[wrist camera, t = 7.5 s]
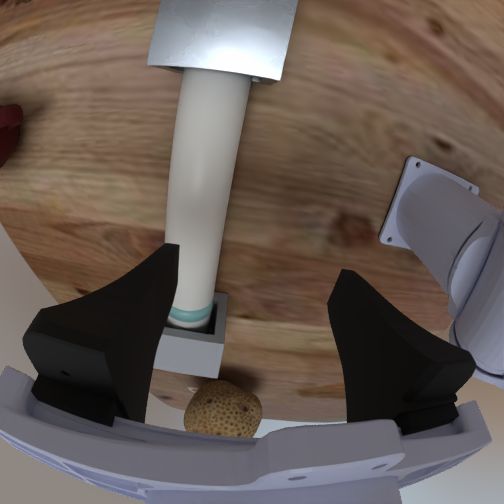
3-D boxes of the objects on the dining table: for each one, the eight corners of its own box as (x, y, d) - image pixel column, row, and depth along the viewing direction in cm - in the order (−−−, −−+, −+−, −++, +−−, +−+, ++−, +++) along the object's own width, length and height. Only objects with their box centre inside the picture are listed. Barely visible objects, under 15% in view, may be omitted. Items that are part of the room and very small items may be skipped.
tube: (198, 35, 14) (185, 21, 11) (260, 43, 15) (264, 30, 11) (168, 308, 26) (159, 340, 22) (211, 315, 26) (206, 348, 23)
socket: (157, 282, 25) (139, 329, 20) (228, 293, 26) (224, 344, 21) (158, 319, 28) (144, 366, 23) (221, 329, 29) (217, 378, 23)
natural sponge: (255, 358, 31) (257, 436, 23) (265, 395, 36) (268, 459, 27) (180, 364, 32) (168, 437, 23) (202, 399, 37) (196, 461, 28)
